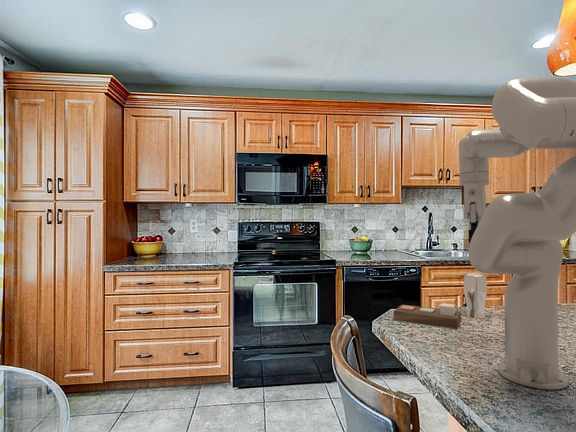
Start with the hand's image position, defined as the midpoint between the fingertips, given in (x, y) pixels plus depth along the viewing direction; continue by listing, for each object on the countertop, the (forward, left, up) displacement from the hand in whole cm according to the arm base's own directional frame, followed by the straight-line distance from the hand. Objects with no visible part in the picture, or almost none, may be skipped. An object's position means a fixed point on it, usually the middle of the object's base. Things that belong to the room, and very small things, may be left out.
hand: (475, 243), depth 102 cm
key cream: (+8, +9, -23) cm, 26 cm away
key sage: (+8, +15, -26) cm, 31 cm away
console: (+8, +15, -27) cm, 32 cm away
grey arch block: (+22, +2, -27) cm, 35 cm away
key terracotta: (+8, +21, -26) cm, 34 cm away
